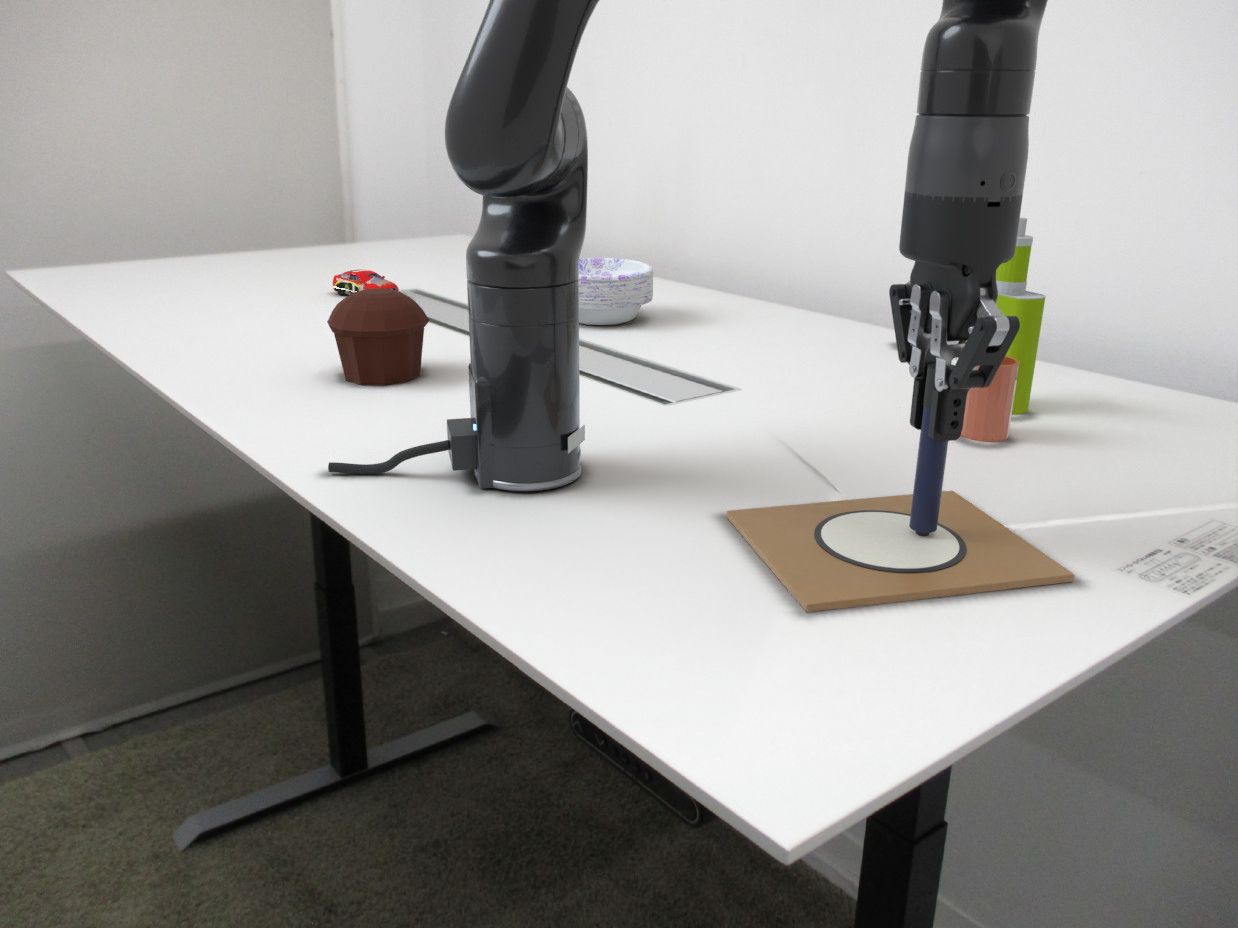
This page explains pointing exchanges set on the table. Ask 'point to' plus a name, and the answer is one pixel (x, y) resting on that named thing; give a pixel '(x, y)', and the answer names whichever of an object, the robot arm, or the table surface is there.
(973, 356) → the robot arm
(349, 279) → the race car
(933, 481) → the marker
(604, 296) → the paper bowls
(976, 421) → the pen pot
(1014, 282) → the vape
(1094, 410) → the table surface
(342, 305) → the muffin
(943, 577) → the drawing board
